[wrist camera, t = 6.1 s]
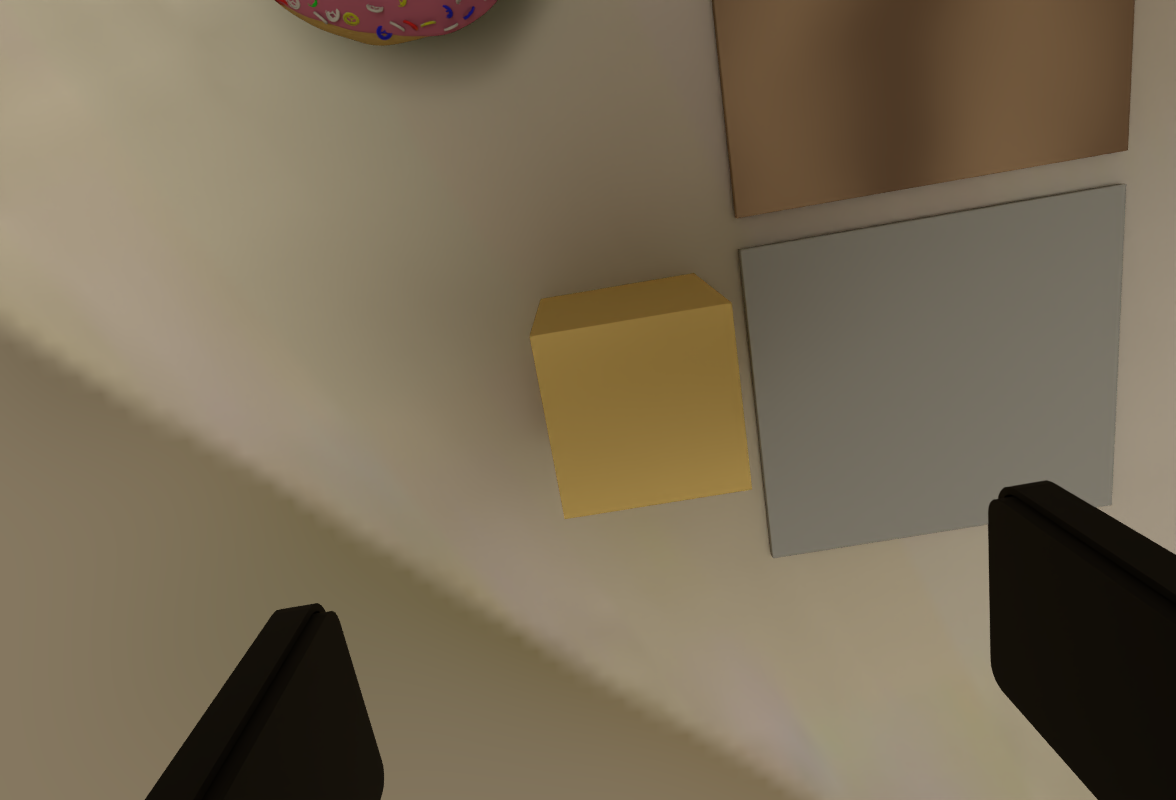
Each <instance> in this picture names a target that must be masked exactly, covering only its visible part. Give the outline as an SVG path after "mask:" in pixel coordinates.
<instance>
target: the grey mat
mask: <svg viewBox="0 0 1176 800" xmlns="http://www.w3.org/2000/svg"><path fill="white" fill-rule="evenodd" d="M1125 202H1126V184H1116V185H1110V186H1104V187H1099V188H1093V189H1087V190H1081V191H1075V192H1070V193H1064V194H1058V195H1052V196H1046V197H1040V198H1035V199H1029V200H1023V201H1017V202H1011V203H1006V204H1000V205H994V206H988V207H982V208H977V209H971V210H965V211H959V212H953V213H948V214H942V215H936V216H930V217H924V218H919V219H913V220H907V221H901V222H895V223H890V224H884V225H878V226H872V227H866V228H861V229H855V230H849V231H843V232H837V233H832V234H826V235H820V236H814V237H808V238H802V239H797V240H791V241H785V242H779V243H773V244H768V245H762V246H756V247H750V248H744V249H739V259H740V268H741V277H742V287H743V296H744V306H745V315H746V324H747V334H748V343H749V352H750V362H751V371H752V380H753V390H754V399H755V409H756V418H757V427H758V437H759V446H760V455H761V465H762V474H763V483H764V493H765V502H766V512H767V521H768V530H769V540H770V549H771V555H772V557H773V558H778V557H785V556H791V555H797V554H804V553H810V552H816V551H823V550H829V549H835V548H842V547H848V546H854V545H861V544H867V543H873V542H880V541H886V540H892V539H899V538H905V537H911V536H918V535H924V534H930V533H937V532H943V531H949V530H956V529H962V528H968V527H975V526H981V525H987V524H988V507H989V504H990V502H991V501H992V500H994V499H998V496H999V493H1000V491H1001V490H1002V489H1003V488H1004V487H1009V486H1015V485H1021V484H1027V483H1033V482H1038V481H1045V480H1048V481H1051V482H1053V483H1055V484H1057V485H1058V486H1060V487H1062V488H1064V489H1065V490H1067V491H1069V492H1070V493H1072V494H1074V495H1075V496H1077V497H1079V498H1080V499H1082V500H1084V501H1086V502H1087V503H1089V504H1091V505H1092V506H1094V507H1102V506H1108V505H1112V488H1113V466H1114V444H1115V422H1116V400H1117V378H1118V356H1119V334H1120V312H1121V290H1122V268H1123V246H1124V224H1125Z"/></svg>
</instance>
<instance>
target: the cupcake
mask: <svg viewBox="0 0 1176 800" xmlns="http://www.w3.org/2000/svg"><path fill="white" fill-rule="evenodd" d="M275 1H276V2H278V3H279V4H280V5H281V6H283V7H284V8H285V9H287V10H288V11H289V12H291V13H292V14H294V15H296V16H297V17H299V18H300V19H302V20H304V21H306V22H307V23H309V24H311V25H313V26H315V27H317V28H320V29H322V30H324V31H327V32H330V33H333V34H336V35H339V36H342V37H346V38H349V39H352V40H356V41H359V42H362V43H366V44H371V45H381V46H384V45H394V44H399V43H404V42H408V41H413V40H417V39H420V38H424V37H428V36H439V35H445V34H449V33H452V32H455V31H457V30H459V29H461V28H463V27H465V26H467V25H469V24H470V23H472V22H474V21H475V20H477V19H478V18H480V17H481V16H482V15H484V14H485V13H486V12H487V11H488V10H489V9H490V8H491V7H492V6H493V5H494V4H495V3H496V2H497V0H275Z"/></svg>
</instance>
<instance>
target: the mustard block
mask: <svg viewBox="0 0 1176 800" xmlns="http://www.w3.org/2000/svg"><path fill="white" fill-rule="evenodd" d="M530 341H531V347H532V352H533V357H534V362H535V367H536V372H537V378H538V383H539V388H540V393H541V398H542V404H543V409H544V414H545V419H546V424H547V429H548V435H549V440H550V445H551V450H552V455H553V461H554V466H555V471H556V476H557V481H558V486H559V492H560V497H561V502H562V507H563V512H564V518H565V519H568V518H575V517H581V516H587V515H594V514H600V513H606V512H613V511H619V510H625V509H632V508H638V507H644V506H650V505H657V504H663V503H669V502H676V501H682V500H688V499H695V498H701V497H707V496H714V495H720V494H726V493H733V492H739V491H745V490H751V489H752V485H751V476H750V467H749V457H748V448H747V439H746V430H745V421H744V412H743V403H742V393H741V384H740V375H739V366H738V357H737V348H736V339H735V329H734V320H733V311H732V303H731V302H730V301H729V300H727V299H726V298H725V297H724V296H722V295H721V294H720V293H718V292H717V291H716V290H715V289H713V288H712V287H711V286H710V285H708V284H707V283H706V282H704V281H703V280H702V279H701V278H699V277H698V276H697V275H696V274H694V273H692V274H686V275H680V276H674V277H668V278H662V279H656V280H650V281H644V282H638V283H632V284H626V285H620V286H614V287H608V288H603V289H597V290H591V291H585V292H579V293H573V294H567V295H561V296H555V297H549V298H543V299H541V300H540V303H539V307H538V310H537V313H536V317H535V320H534V323H533V327H532V330H531V333H530Z"/></svg>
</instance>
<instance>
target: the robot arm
mask: <svg viewBox="0 0 1176 800" xmlns="http://www.w3.org/2000/svg"><path fill="white" fill-rule="evenodd" d="M988 539H989V596H990V653H991V667H992V671H993V675H994V677H995V680H996V682H997V684H998V685H999V687H1000V688H1001V690H1002V691H1003V692H1004V694H1005V695H1006V696H1007V697H1008V698H1009V699H1010V700H1011V702H1012V703H1013V704H1014V705H1015V706H1016V707H1017V708H1018V709H1019V711H1020V712H1021V713H1022V714H1023V715H1024V716H1025V717H1026V719H1027V720H1028V721H1029V722H1030V723H1031V724H1032V725H1033V727H1034V728H1035V729H1036V730H1037V731H1038V732H1039V733H1040V734H1041V736H1042V737H1043V738H1044V739H1045V740H1046V741H1047V742H1048V744H1049V745H1050V746H1051V747H1052V748H1053V749H1054V750H1055V752H1056V753H1057V754H1058V755H1059V756H1060V757H1061V758H1062V759H1063V761H1064V762H1065V763H1066V764H1067V765H1068V766H1069V767H1070V769H1071V770H1072V771H1073V772H1074V773H1075V774H1076V775H1077V777H1078V778H1079V779H1080V780H1081V781H1082V782H1083V783H1084V784H1085V786H1086V787H1087V788H1088V789H1089V790H1090V791H1091V792H1092V794H1093V795H1094V796H1095V797H1096V798H1097V799H1098V800H1176V555H1175V554H1173V553H1172V552H1170V551H1168V550H1167V549H1165V548H1163V547H1162V546H1160V545H1158V544H1156V543H1155V542H1153V541H1151V540H1150V539H1148V538H1146V537H1145V536H1143V535H1141V534H1140V533H1138V532H1136V531H1134V530H1133V529H1131V528H1129V527H1128V526H1126V525H1124V524H1123V523H1121V522H1119V521H1118V520H1116V519H1114V518H1113V517H1111V516H1109V515H1107V514H1106V513H1104V512H1102V511H1101V510H1099V509H1097V508H1096V507H1094V506H1092V505H1091V504H1089V503H1087V502H1086V501H1084V500H1082V499H1080V498H1079V497H1077V496H1075V495H1074V494H1072V493H1070V492H1069V491H1067V490H1065V489H1064V488H1062V487H1060V486H1058V485H1057V484H1055V483H1053V482H1051V481H1048V480H1045V481H1038V482H1033V483H1027V484H1021V485H1015V486H1009V487H1004V488H1003V489H1002V490H1001V491H1000V493H999V496H998V499H994V500H992V501H991V502H990V504H989V507H988ZM383 787H384V769H383V764H382V760H381V756H380V753H379V750H378V747H377V743H376V740H375V737H374V733H373V730H372V727H371V723H370V720H369V717H368V713H367V710H366V707H365V704H364V700H363V697H362V693H361V690H360V687H359V684H358V681H357V677H356V674H355V670H354V667H353V664H352V660H351V657H350V654H349V650H348V647H347V644H346V641H345V637H344V634H343V631H342V627H341V624H340V621H339V619H338V616H337V615H336V613H335V612H333V611H329V612H325V610H324V608H323V607H322V606H321V605H320V604H318V603H315V604H310V605H304V606H298V607H292V608H286V609H281V610H276V611H275V612H274V614H273V615H272V616H271V617H270V619H269V620H268V622H267V623H266V625H265V626H264V628H263V629H262V631H261V632H260V633H259V635H258V636H257V638H256V639H255V641H254V642H253V644H252V645H251V646H250V648H249V649H248V651H247V652H246V654H245V655H244V657H243V658H242V660H241V661H240V662H239V664H238V665H237V667H236V668H235V670H234V671H233V673H232V674H231V675H230V677H229V679H228V680H227V681H226V683H225V684H224V686H223V687H222V688H221V690H220V691H219V693H218V695H217V696H216V697H215V699H214V700H213V702H212V703H211V704H210V706H209V707H208V709H207V710H206V712H205V713H204V715H203V716H202V718H201V719H200V721H199V722H198V723H197V725H196V726H195V728H194V729H193V731H192V732H191V733H190V735H189V737H188V738H187V739H186V741H185V742H184V744H183V745H182V747H181V748H180V749H179V751H178V752H177V754H176V755H175V757H174V758H173V760H172V761H171V762H170V764H169V765H168V767H167V768H166V770H165V771H164V773H163V774H162V776H161V777H160V778H159V780H158V781H157V783H156V784H155V786H154V787H153V789H152V790H151V792H150V793H149V794H148V796H147V797H146V799H145V800H380V799H381V795H382V792H383Z"/></svg>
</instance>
